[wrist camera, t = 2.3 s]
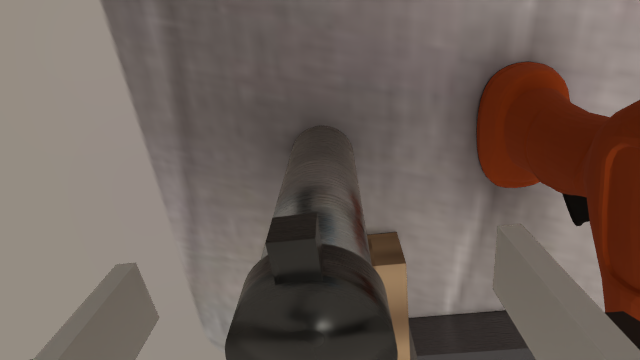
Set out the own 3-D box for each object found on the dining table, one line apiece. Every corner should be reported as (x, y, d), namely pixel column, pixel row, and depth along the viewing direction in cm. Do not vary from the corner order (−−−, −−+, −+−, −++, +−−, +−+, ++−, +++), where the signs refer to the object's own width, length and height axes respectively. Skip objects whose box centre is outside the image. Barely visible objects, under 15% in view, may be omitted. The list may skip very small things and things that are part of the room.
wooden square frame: (273, 244, 26) (265, 276, 23) (396, 232, 25) (406, 263, 22) (294, 331, 30) (289, 369, 27) (401, 323, 29) (410, 361, 26)
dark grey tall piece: (278, 107, 22) (190, 260, 8) (352, 97, 21) (390, 241, 8) (296, 206, 25) (255, 440, 11) (362, 198, 24) (403, 432, 11)
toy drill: (488, 324, 27) (655, 615, 13) (468, 71, 21) (722, 82, 7) (555, 315, 26) (809, 610, 12) (552, 54, 21) (1010, 28, 7)
